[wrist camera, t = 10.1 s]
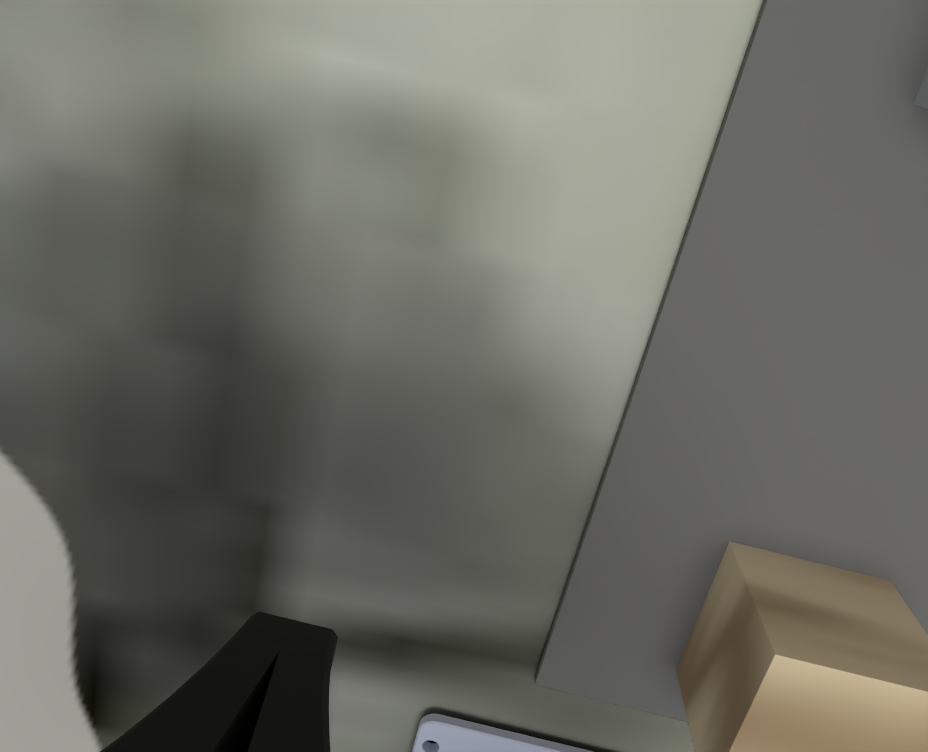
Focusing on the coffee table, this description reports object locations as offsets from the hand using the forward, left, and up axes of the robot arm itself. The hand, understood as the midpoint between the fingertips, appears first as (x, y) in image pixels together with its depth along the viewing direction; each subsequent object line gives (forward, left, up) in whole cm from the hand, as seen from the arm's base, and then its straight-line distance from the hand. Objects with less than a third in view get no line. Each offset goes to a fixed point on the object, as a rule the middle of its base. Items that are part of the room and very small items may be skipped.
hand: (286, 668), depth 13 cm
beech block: (-3, -12, -9) cm, 15 cm away
